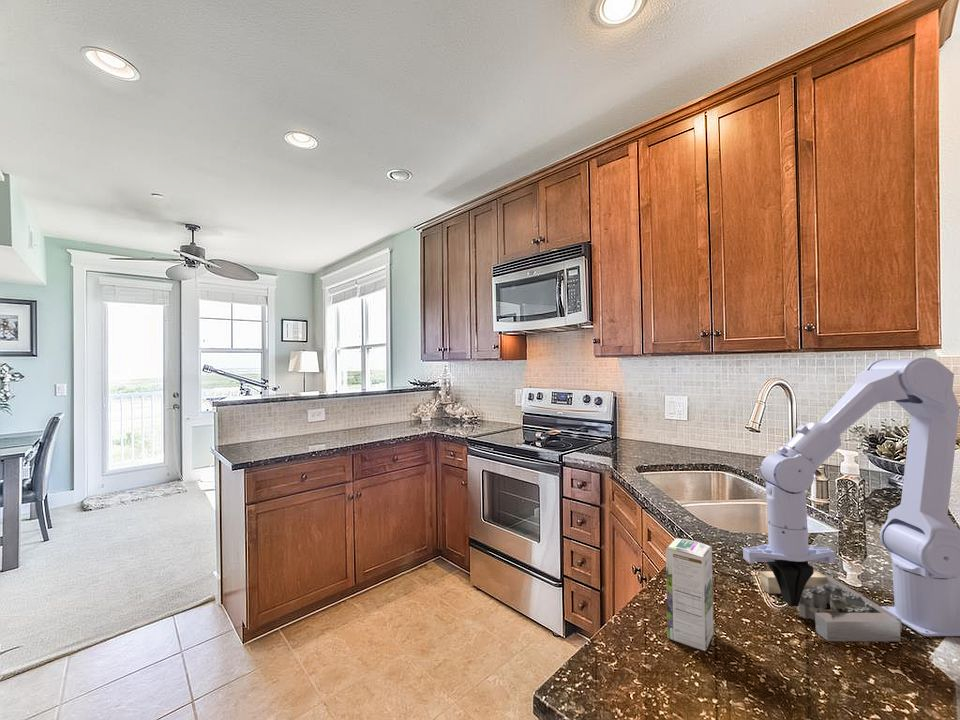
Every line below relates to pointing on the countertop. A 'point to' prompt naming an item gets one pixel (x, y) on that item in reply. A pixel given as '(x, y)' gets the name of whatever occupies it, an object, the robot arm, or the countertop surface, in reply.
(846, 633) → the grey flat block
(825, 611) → the egg carton
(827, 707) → the countertop surface
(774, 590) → the block
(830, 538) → the countertop surface
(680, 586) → the syrup box
